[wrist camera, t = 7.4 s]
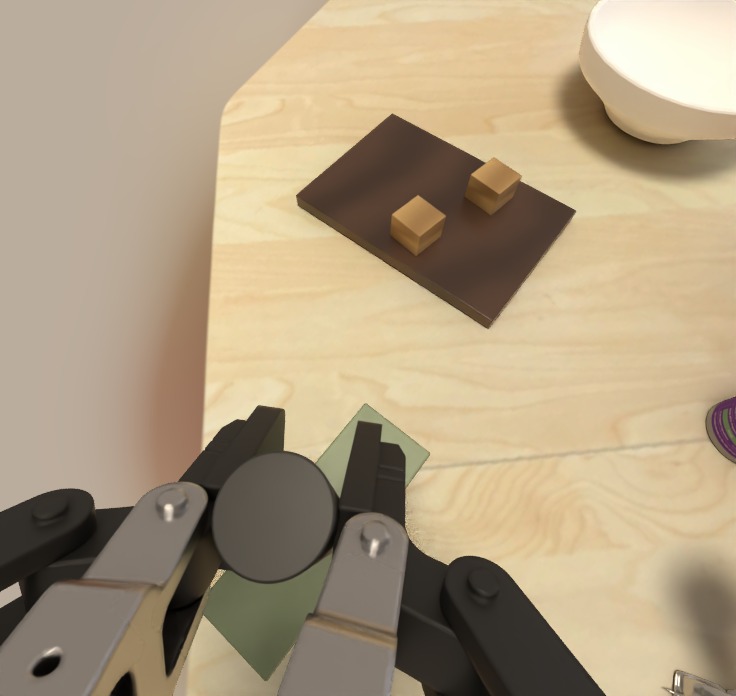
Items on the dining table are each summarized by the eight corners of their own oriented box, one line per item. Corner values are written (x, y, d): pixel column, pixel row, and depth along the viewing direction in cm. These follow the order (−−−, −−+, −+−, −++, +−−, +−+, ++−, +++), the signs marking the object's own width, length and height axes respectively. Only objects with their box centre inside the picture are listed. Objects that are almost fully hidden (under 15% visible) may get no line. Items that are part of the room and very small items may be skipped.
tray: (297, 205, 36) (295, 195, 35) (391, 124, 41) (392, 113, 40) (488, 329, 31) (492, 321, 30) (570, 220, 36) (576, 210, 35)
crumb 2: (464, 196, 35) (470, 174, 33) (485, 179, 36) (493, 156, 34) (490, 215, 35) (499, 194, 32) (512, 197, 35) (522, 175, 33)
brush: (222, 594, 18) (-55, 717, 6) (364, 420, 21) (369, 276, 9) (282, 657, 17) (96, 948, 5) (420, 464, 20) (505, 368, 8)
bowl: (521, 77, 44) (548, -1, 38) (670, 46, 47) (719, -32, 41) (622, 206, 37) (677, 135, 30) (793, 159, 40) (877, 85, 33)
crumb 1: (389, 235, 34) (391, 214, 31) (414, 216, 34) (418, 194, 32) (416, 256, 33) (419, 236, 30) (440, 236, 34) (446, 215, 31)
